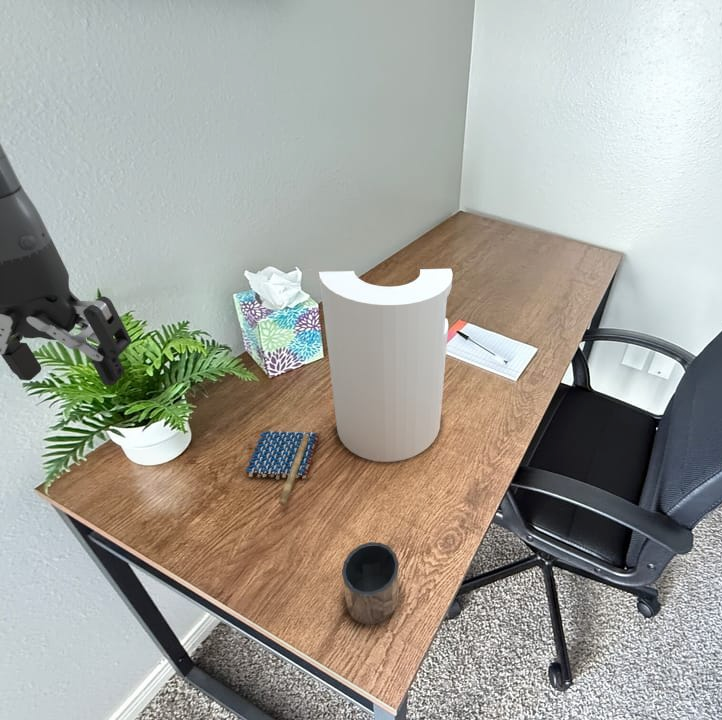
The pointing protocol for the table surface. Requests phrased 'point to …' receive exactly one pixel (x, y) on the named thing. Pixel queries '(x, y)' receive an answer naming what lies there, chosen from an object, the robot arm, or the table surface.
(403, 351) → the white curved half cylinder
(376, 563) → the cup
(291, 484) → the stirrer
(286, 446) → the woven mat
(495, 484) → the table surface
